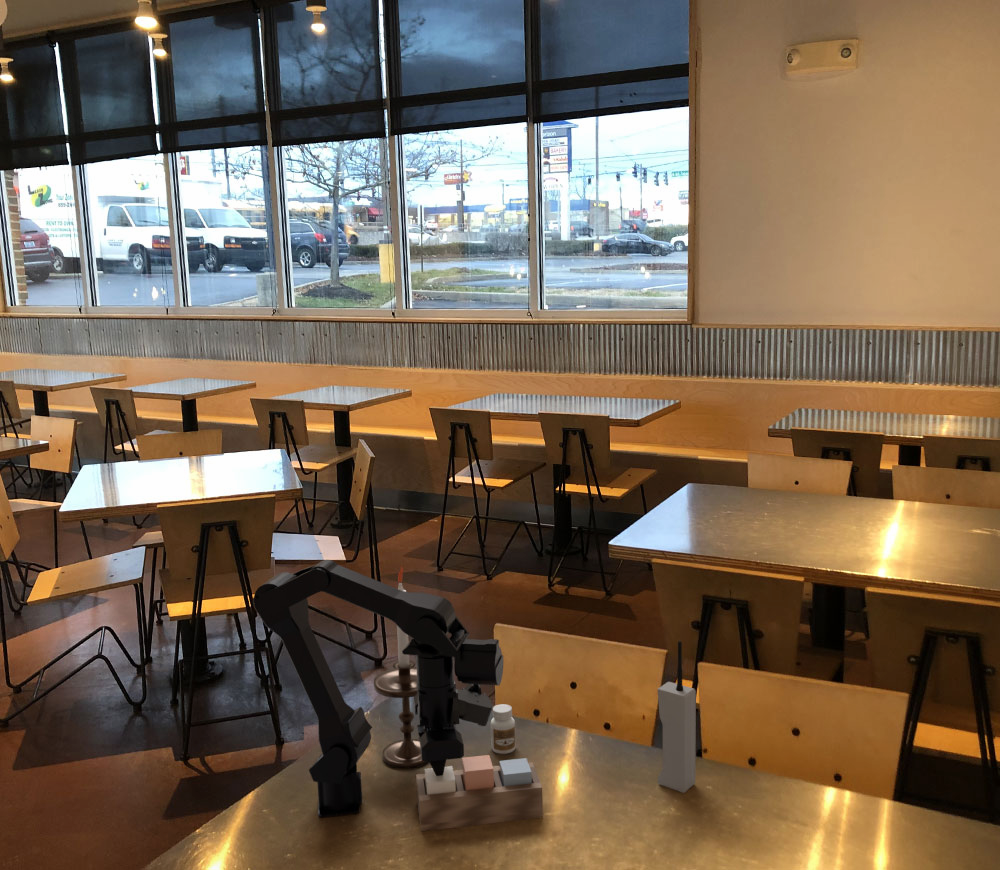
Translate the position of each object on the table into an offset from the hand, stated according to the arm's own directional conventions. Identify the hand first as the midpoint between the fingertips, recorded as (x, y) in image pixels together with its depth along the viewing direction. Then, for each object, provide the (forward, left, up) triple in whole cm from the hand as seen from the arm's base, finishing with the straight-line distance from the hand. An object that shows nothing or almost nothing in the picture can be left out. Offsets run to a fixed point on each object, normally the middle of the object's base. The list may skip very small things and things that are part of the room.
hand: (439, 774), depth 147 cm
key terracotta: (+6, 0, -3) cm, 7 cm away
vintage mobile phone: (+39, +1, -7) cm, 40 cm away
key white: (0, 0, -4) cm, 4 cm away
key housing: (+6, 0, -7) cm, 9 cm away
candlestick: (-4, +20, -7) cm, 22 cm away
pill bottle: (+13, +19, -7) cm, 24 cm away
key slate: (+12, 0, -4) cm, 13 cm away
